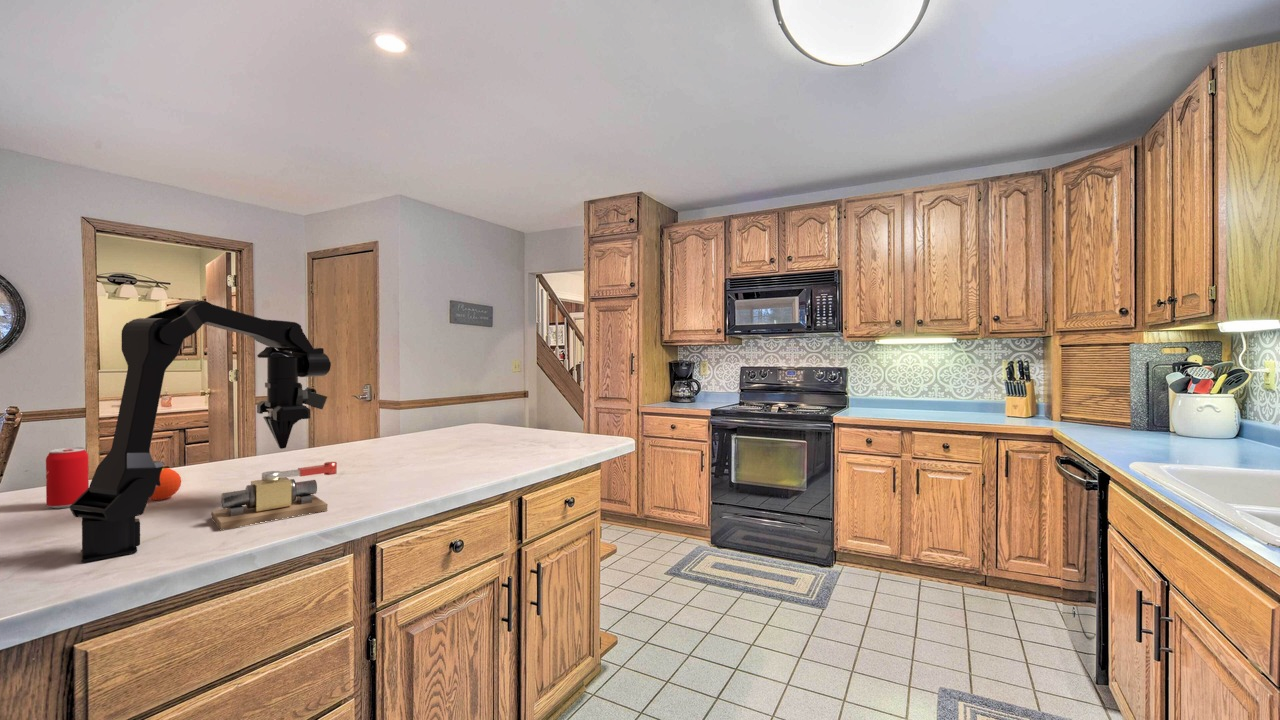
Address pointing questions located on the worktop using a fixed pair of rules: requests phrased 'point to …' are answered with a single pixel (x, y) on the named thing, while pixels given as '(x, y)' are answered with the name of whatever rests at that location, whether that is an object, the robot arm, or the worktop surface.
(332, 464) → the valve lever
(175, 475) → the clementine
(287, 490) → the valve
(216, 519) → the mounting board
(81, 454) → the beverage can
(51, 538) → the worktop surface
